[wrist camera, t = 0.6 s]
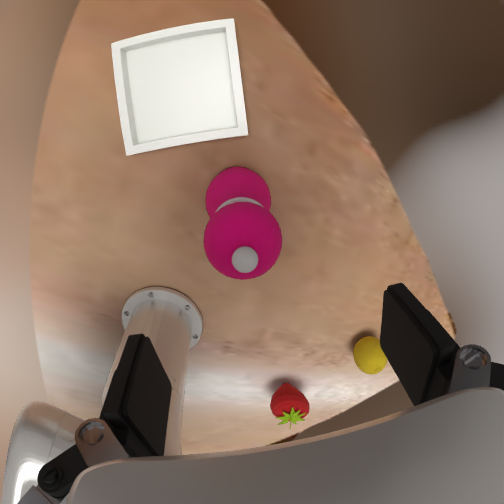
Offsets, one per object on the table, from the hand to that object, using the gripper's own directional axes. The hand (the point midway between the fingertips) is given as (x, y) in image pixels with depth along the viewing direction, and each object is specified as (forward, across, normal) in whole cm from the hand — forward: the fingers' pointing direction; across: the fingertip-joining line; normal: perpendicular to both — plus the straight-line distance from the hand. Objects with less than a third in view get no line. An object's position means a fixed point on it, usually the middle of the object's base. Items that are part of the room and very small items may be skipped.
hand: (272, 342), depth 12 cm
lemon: (+30, -16, +30) cm, 45 cm away
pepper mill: (+29, 0, +1) cm, 29 cm away
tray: (+29, +5, -13) cm, 32 cm away
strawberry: (+30, -2, +37) cm, 48 cm away
